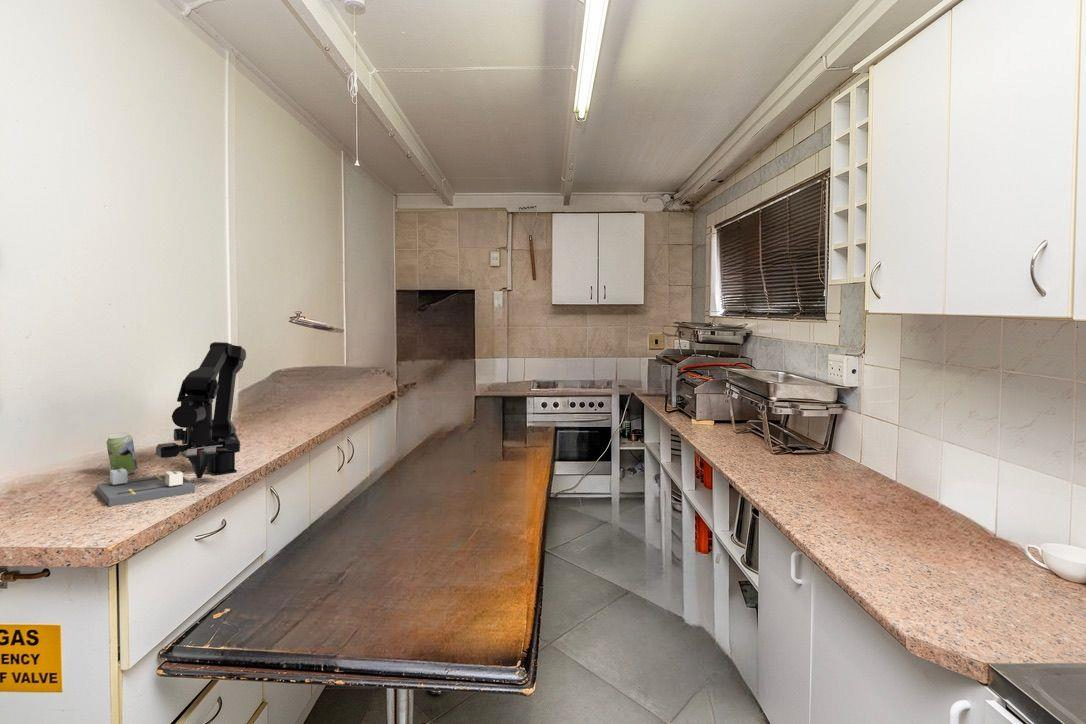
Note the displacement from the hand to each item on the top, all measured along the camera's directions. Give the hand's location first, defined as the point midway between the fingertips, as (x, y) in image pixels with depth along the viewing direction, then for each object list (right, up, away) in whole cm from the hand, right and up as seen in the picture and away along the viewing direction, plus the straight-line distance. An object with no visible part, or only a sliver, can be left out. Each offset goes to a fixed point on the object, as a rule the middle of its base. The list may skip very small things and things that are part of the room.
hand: (199, 477), depth 147 cm
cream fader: (-4, -1, -4) cm, 6 cm away
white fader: (-18, 0, -5) cm, 19 cm away
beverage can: (-30, -1, +11) cm, 31 cm away
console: (-11, -3, -4) cm, 12 cm away
